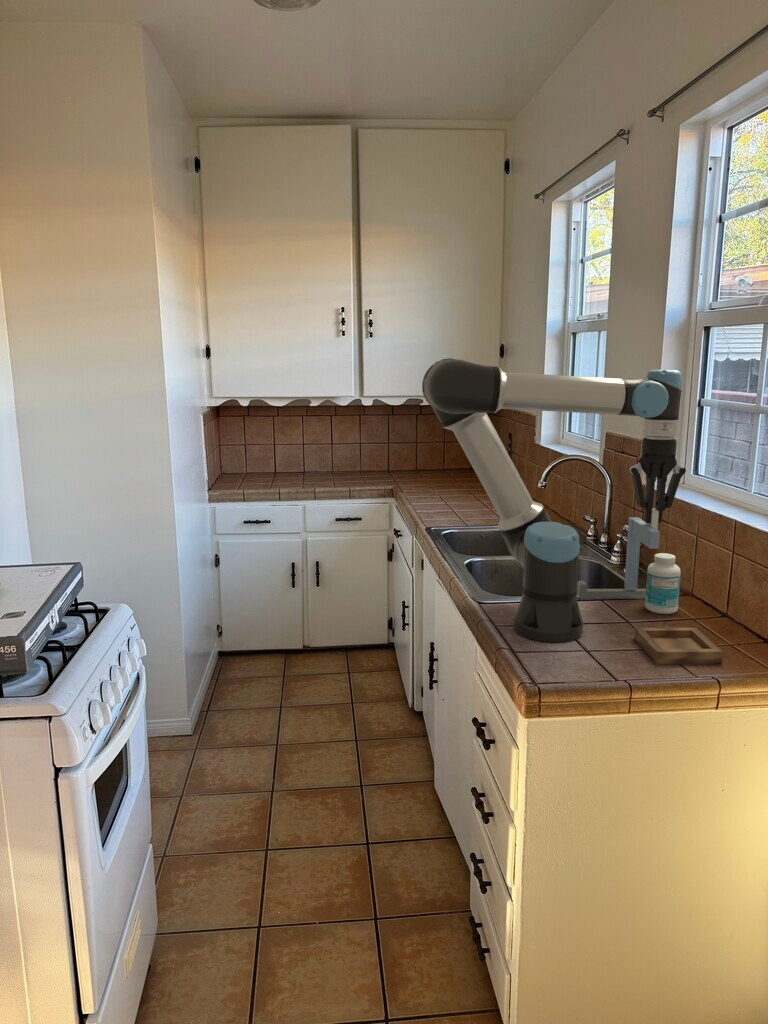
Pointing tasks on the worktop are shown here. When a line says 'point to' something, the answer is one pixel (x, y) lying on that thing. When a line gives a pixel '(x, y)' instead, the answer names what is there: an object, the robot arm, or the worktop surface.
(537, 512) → the robot arm
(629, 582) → the bar
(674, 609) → the pill bottle
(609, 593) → the gate rail
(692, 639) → the open box
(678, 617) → the worktop surface
